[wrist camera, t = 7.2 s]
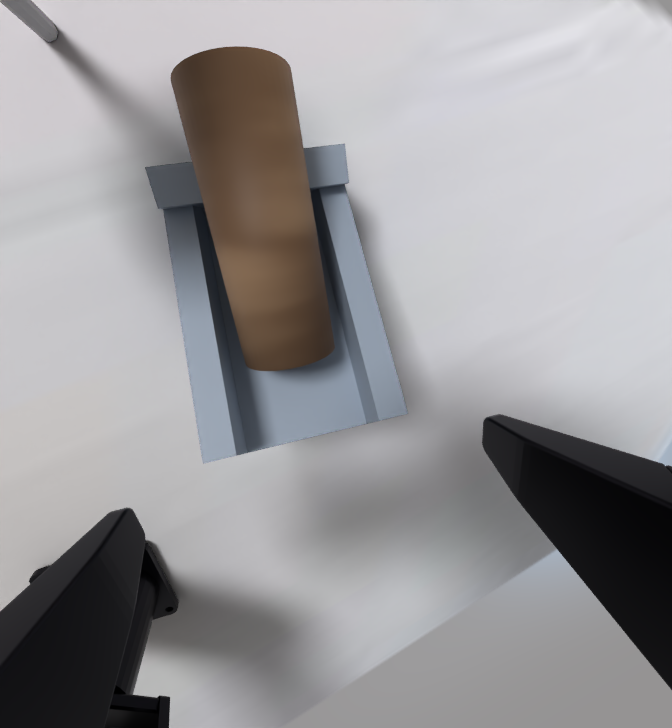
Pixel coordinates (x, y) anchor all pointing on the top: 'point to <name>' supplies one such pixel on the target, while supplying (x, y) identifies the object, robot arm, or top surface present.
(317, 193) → the cradle
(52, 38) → the lollipop
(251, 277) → the peg
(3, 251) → the top surface
